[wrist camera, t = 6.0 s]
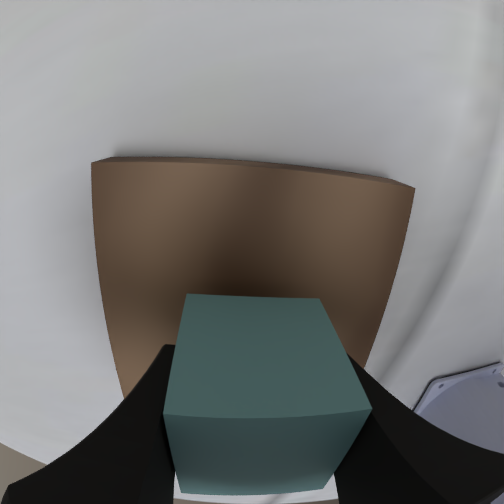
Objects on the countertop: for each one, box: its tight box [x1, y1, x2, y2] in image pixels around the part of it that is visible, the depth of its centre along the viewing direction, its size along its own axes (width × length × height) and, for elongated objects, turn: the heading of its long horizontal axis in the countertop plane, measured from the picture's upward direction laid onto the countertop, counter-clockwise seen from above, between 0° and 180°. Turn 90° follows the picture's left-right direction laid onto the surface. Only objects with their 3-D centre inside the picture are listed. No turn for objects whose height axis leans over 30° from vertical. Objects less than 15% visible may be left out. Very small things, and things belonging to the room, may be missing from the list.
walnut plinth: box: [91, 157, 415, 399], centre depth 13 cm, size 12×12×2 cm
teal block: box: [163, 293, 372, 495], centre depth 9 cm, size 4×4×5 cm
